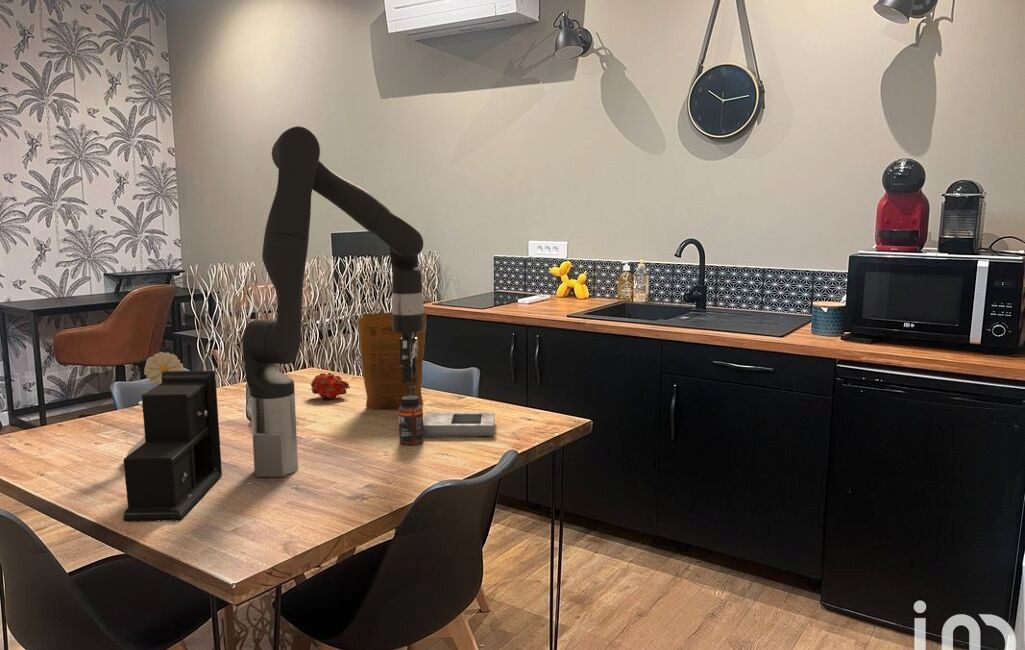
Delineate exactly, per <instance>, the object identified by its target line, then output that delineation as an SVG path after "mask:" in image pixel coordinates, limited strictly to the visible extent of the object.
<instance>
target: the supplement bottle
mask: <svg viewBox="0 0 1025 650" xmlns="http://www.w3.org/2000/svg"><path fill="white" fill-rule="evenodd" d="M418 402H419V401H418V397H417V396H404V397H402V405H401V406H400V407H399V409H397V410H398V433H399V434H398V435H399V436H398V438H399V443H400V444H401V445H405V446H414V445H420V444H421V443H423V442H424V439H425V437H424V432H423V420H424V413H423V412H424V410H423V406H421V405H419V404H418Z"/></svg>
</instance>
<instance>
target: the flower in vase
mask: <svg viewBox="0 0 1025 650" xmlns="http://www.w3.org/2000/svg"><path fill="white" fill-rule="evenodd" d="M183 369H184V365H183V363H181V360H180V359H178V356H177V355H176V354H174V353H172V354H171V353H170V352H162V351H159V352H158V353H155V354H153V356H150V357H148V358H147V360H146V363H145V366H144V369H143V370H144V372H143V374H144V375H145V376H146V379H148V380H149V382H150V384H151V383H152V384H154V385H156V386H158V385H159V384H161V383H162V379H161V376H162V373H163V371H183ZM137 390H138V391H139V392H142V393H143V394H144V393H146V392H148V391H149V390H148V391H147V390H142V389H141V388H139V387H137ZM138 405H139V406H140V407H141V408H142V409H143V405H142V400H140V401H138ZM144 443H145V435H144V436H142V438H140V440H139V441H138V442H136V443H135V444H134V445H133V446H132V447H131V448H130V449H129V450H128V452H127V453H126V457H127V456H128V455H129V454H131V453H132V452H133V451H135V450H136V449H137V448H139V447H140V446H141V445H143V444H144Z"/></svg>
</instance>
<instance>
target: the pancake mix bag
mask: <svg viewBox="0 0 1025 650" xmlns="http://www.w3.org/2000/svg"><path fill="white" fill-rule="evenodd" d="M426 330H427V312H425V311H424V330H423V331H421V332H417V338H418V343H417V346H418V353H417V358H415V359H416V373H415V374H412V381H411V382H403V381H402V366H401V365H400V345H399V340H401V338H402V333H400V332H399V333H398V332H394V331H393V329H392V311H391V312H390V311H389V312H383V313H381V312H378V313H377V312H376V313H362V317H358V318H357V332H358V347H359V348H358V349H359V350H358V351H359V354H360V363H361V367H362V368H361V369H362V373H363V374H362V375H363V381H364V383H363V385H364V388H365V393H366V403H365V408H367V407H368V409H370V408H373V409H372V410H377V409H379V410H395V408H399V407H400V406H401V405H402V397H404V396H417V397H418V401H419V402H418V404H419V405H421V406H422V405H423V406H424V400H423V396H422V380H423V360H424V354H425V345H426V341H425V340H426V338H425V337H426ZM407 359H408V358H404V360H407ZM423 406H422V407H423Z"/></svg>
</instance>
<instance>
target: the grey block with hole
mask: <svg viewBox="0 0 1025 650" xmlns="http://www.w3.org/2000/svg"><path fill="white" fill-rule="evenodd" d="M495 414H496V412H487V411H486V412H477V411H476V412H474V411H473V412H470V411H469V412H453V411H451V412H445V411H443V412H442V411H441V412H437V411H436V412H430V411H429V412H426V414H425V416H424V417H423V432H424V438H466V437H465V436H468V437H467V438H471V437H470V436H494V435H495V425H494V424H495V421H496V419H495V416H496V415H495Z"/></svg>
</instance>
